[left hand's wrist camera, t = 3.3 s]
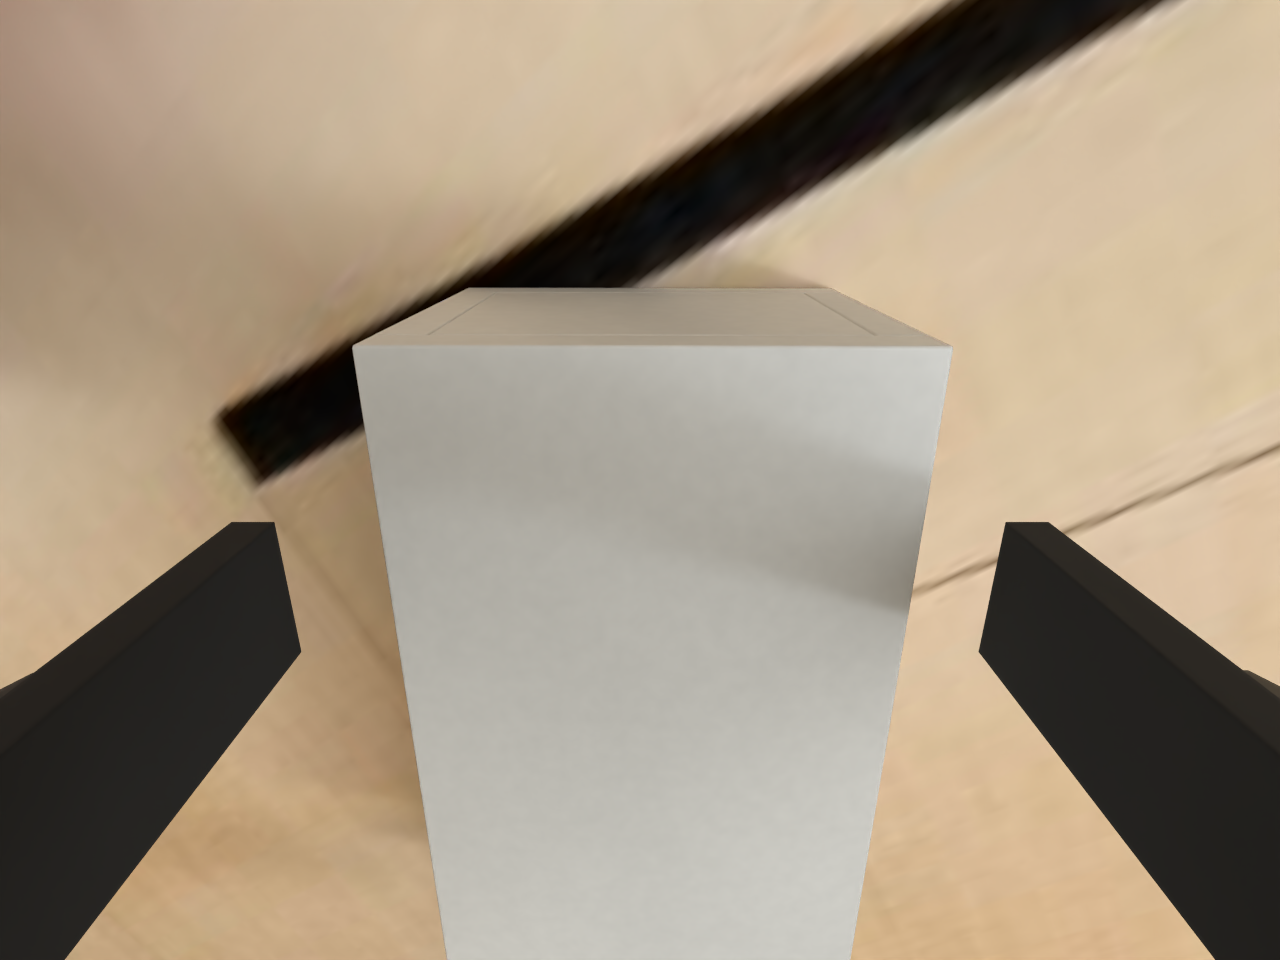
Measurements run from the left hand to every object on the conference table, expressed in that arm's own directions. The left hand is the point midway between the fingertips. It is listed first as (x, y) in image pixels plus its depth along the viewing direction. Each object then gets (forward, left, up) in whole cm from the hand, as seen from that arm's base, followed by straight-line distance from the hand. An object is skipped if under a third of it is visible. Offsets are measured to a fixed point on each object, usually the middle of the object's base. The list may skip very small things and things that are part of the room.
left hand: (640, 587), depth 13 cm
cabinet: (+6, +1, -9) cm, 11 cm away
